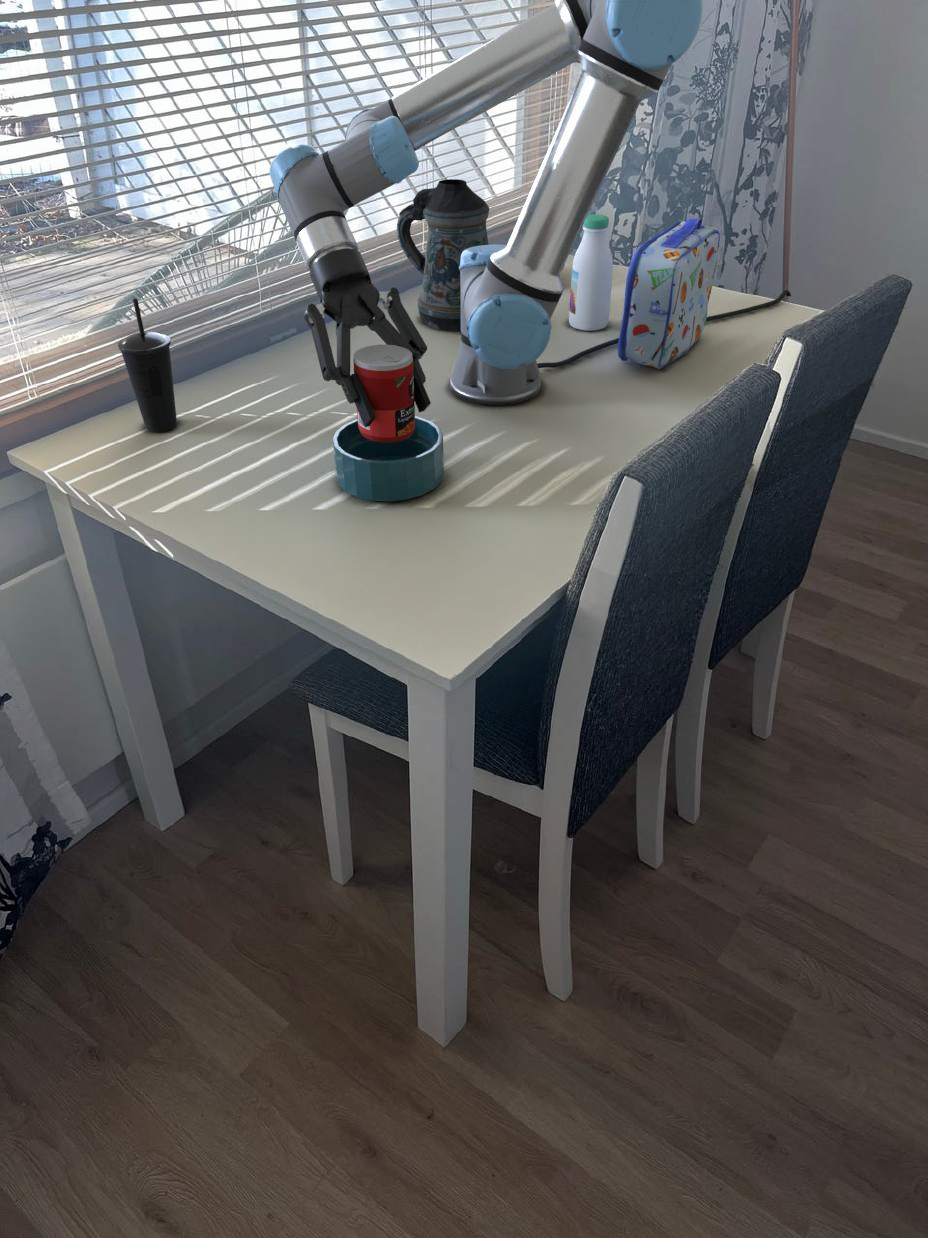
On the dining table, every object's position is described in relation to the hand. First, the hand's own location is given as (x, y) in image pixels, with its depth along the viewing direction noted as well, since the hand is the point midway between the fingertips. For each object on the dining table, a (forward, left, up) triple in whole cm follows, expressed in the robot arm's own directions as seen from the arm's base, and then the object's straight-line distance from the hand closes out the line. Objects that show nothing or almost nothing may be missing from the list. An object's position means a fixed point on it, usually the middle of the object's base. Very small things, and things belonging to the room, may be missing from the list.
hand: (398, 414), depth 129 cm
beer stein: (-21, -66, -11) cm, 70 cm away
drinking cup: (+34, -29, -11) cm, 46 cm away
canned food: (+1, -3, -4) cm, 5 cm away
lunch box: (-55, -40, -11) cm, 69 cm away
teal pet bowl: (+1, -3, -11) cm, 12 cm away
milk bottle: (-46, -56, -11) cm, 73 cm away
